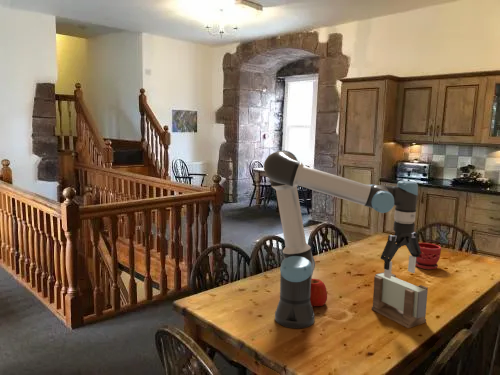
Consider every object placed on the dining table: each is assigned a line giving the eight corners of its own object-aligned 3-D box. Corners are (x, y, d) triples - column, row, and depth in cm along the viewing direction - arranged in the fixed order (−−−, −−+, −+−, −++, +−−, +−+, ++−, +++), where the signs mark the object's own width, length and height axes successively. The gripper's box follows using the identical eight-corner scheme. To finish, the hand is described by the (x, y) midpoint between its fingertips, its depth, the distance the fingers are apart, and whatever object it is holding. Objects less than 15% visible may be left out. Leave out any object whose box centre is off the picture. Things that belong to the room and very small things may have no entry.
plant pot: (442, 271, 212) (444, 249, 210) (416, 270, 214) (417, 248, 213) (435, 263, 225) (437, 242, 223) (410, 262, 227) (412, 241, 225)
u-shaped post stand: (408, 328, 151) (410, 292, 149) (371, 309, 166) (373, 276, 164) (425, 322, 156) (428, 287, 154) (388, 304, 171) (390, 272, 169)
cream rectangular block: (417, 318, 150) (419, 292, 149) (374, 297, 168) (375, 274, 167) (425, 315, 153) (427, 290, 151) (381, 295, 171) (383, 272, 169)
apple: (295, 303, 172) (296, 278, 170) (311, 295, 179) (312, 272, 178) (316, 311, 164) (317, 286, 163) (332, 303, 172) (333, 279, 170)
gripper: (389, 226, 146) (384, 283, 149) (434, 220, 159) (428, 272, 162) (373, 222, 153) (369, 276, 156) (417, 216, 165) (412, 267, 168)
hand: (399, 274), depth 159 cm, fingers open, 13 cm apart
